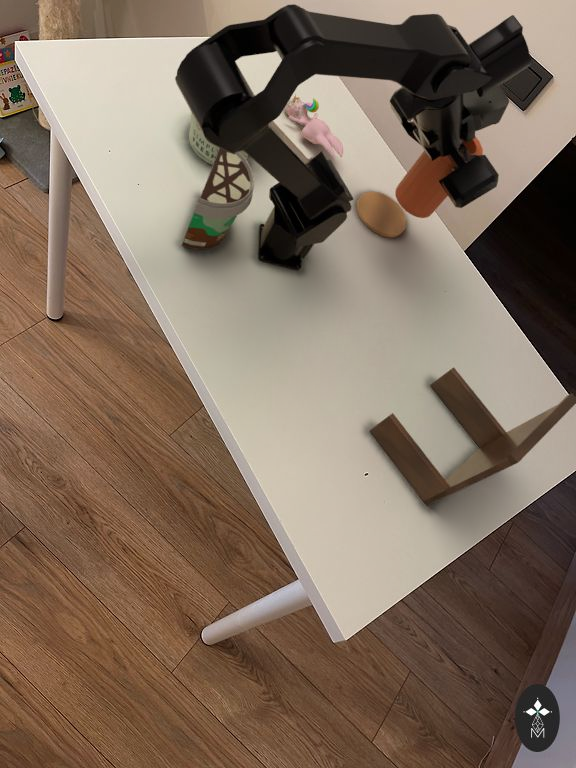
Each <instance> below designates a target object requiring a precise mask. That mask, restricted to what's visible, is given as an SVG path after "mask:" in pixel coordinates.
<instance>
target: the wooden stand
mask: <svg viewBox="0 0 576 768" xmlns="http://www.w3.org/2000/svg"><path fill="white" fill-rule="evenodd" d="M429 386H430V388H432V390H433V391H434V392H435V393H436V395H437V396H438V397H439V398H440V400H441V401H442V402H443V404H444V405H445V406H446V407H447V408H448V410H449V411H450V413H452V415H453V416H454V417H455V419H456V420H457V421H458V422H459V423H460V425H461V427H463V429H464V430H465V431H466V432H467V434H468V435H469V436H470V437H471V439H473V441H474V442H475V444H476V445H477V446H478V447H479V448H478V449H477V450H476V451H475V452H474V453H473V454H472V455H470V456H469V457H468V458H467V460H465V461H464V462H463V463H461V465H459V466H458V468H456V469H455V470H454V471H453V472H452V473H451V474H450V475H449V476H447V477H446V478H444V477H443V475H442V474H441V473H440V472H439V471H438V469H437V468H436V467H435V465H434V464H433V462H431V460H430V458H429V457H428V456H427V454H425V452H424V451H423V450H422V448H421V447H420V446H419V445H418V443H417V442H416V441H415V439H414V438H413V437H412V436H411V434H410V433H409V432H408V430H407V429H406V428H405V426H403V424H402V423H401V422H400V420H399V419H398V418H397V416H396V415H395V414H394V413H393V412H391V414H389V415H388V416H387V417H386V418H384V419H383V420H381V421H380V422H378V423H377V424H376V425H374V426H373V427H372V428H371V429H369V432H370V434H371V435H372V437H374V439H375V440H376V441H377V443H378V444H379V445H380V447H381V448H382V449H383V450H384V452H385V453H386V455H388V457H389V458H390V460H391V461H392V463H394V465H395V466H396V468H397V469H398V470H399V471H400V472H401V474H402V476H403V477H404V478H405V479H406V480H407V482H408V483H409V484H410V486H411V487H412V488H413V490H414V491H415V493H417V495H418V497H420V499H421V500H422V501H423V502H424V504H425V505H426V506H429V505H432V504H434V503H436V502H438V501H440V500H442V499H445V498H447V497H449V496H451V495H453V494H455V493H458V492H459V491H461V490H464V489H466V488H468V487H470V486H472V485H474V484H476V483H478V482H481V481H483V480H485V479H487V478H489V477H491V476H493V475H495V474H497V473H500V472H501V471H504V470H506V469H509V468H510V467H513V466H515V465H516V464H519V463H520V462H521V461H522V460H523V458H525V456H527V454H528V453H530V451H531V450H533V448H534V447H535V446H536V445H537V444H538V443H539V442H540V441H541V440H542V439H543V438H544V437H545V436H546V435H547V434H548V433H549V432H550V431H551V430H552V429H553V428H554V427H555V426H556V425H557V424H558V423H559V422H560V421H561V420H562V419H563V418H564V416H565V415H566V414H567V413H568V412H569V411H570V410H572V408H573V407H574V406H575V405H576V396H575V395H574V394H573V393H569V394H567V395H566V396H565V397H564V398H563V399H562V400H561V401H560V402H558V404H556V405H554V406H552V407H551V408H549V409H547V410H545V411H543V412H541V413H539V414H537V415H536V416H534V417H532V418H530V419H529V420H526V421H524V422H523V423H521V424H519V425H517V426H515V427H514V428H512V429H510V430H508V431H506V429H504V428H503V426H502V425H501V423H500V422H499V421H498V420H497V419H496V417H495V416H494V415H493V414H492V413H491V411H490V410H489V409H488V407H487V406H486V405H485V404H484V402H482V400H481V399H480V397H479V396H478V395H477V394H476V393H475V391H474V390H473V389H472V388H471V386H470V385H469V384H468V383H467V381H466V380H465V379H464V378H463V377H462V375H461V374H460V373H459V372H458V370H457V369H456V368H455V367H452V368H451V369H449V370H448V371H446V372H445V373H444V374H442V375H441V376H439V377H438V378H437V379H436V380H435V381H433V382H432V383H431V384H430V385H429Z"/></svg>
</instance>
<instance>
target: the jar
mask: <svg viewBox="0 0 576 768" xmlns="http://www.w3.org/2000/svg"><path fill="white" fill-rule="evenodd" d="M462 143H463V144H464V146H465V147H466V149H467V150H468V151H469V153H470V154H471V155H477V156H478V155H484V149H483V147H482V144H481V142H480V140H479V139H478V137H477V136H476V135H475V138H474V139H473V140H471V141H470V142H468V143H466V142H465V141H463V142H462ZM457 151H458V150H457ZM459 154H460V152H459ZM460 155H462V154H460ZM462 158H463V157H462ZM463 160H464V159H463ZM466 162H467V161H466ZM454 167H455V166H454V165H453V163H452V162H451V160H450V158H449V157H448V156H444V157H438V158H437V159H435V160H433V161H431V160H430V158H429V156H428V155H427V153H426V152H425V150H424V149H423V152H422V153H421V154H420V155H419V157H418V158H417V160H416V161H414V163H413V165H412V166H411V167H410V169H409V170H408V171H407V173H406V174H405V176H403V178H402V179H401V180H400V182H399V183H398V184H397V186H396V188H395V193H394V194H395V198H396V201H397V203H398V205H399V206H400V207H401V209H402V210H404V211H405V212H407V213H408V214H410V215H411V216H413V217H415V218H420V219H426V218H429V217H431V215H433V213H434V212H435V211H436V210H437V209H438V208H439V207H440V205H441V204H442V203H443V202H444V201H445V200H446V198H447V197H449V196H448V195H447V193H446V192H445V190H444V189H443V187H442V186H441V184H440V183H439V180H441V179H442V178H444V177H446V176H447V175H448V174H450V173H451V172H453V171H452V168H454Z"/></svg>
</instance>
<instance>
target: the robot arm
mask: <svg viewBox="0 0 576 768" xmlns="http://www.w3.org/2000/svg"><path fill="white" fill-rule="evenodd" d="M523 29H524V27H523V25H522V24H521V23H520V22H519V20H518V19H517V18H516V16H515V15H514V14H511V15H510V16H509V17H507V18H506V19H504V20H502V21H501V22H500V23H498V24H497V25H496V26H493V28H491V29H490V30H488V31H486V32H485V33H484V34H482V35H481V36H479V37H478V38H476V39H474V40H473V41H472V42H470V43H468V42H467V41H466V39H465V38H464V37H463V35H462V34H461V32H460V31H459V30H458V28H457V27H456V26H453V25H450V24H448V23H447V21H446V20H445V19H444V17H443V16H442V15H440V14H438V13H427V14H426V13H424V14H413V15H409V16H408V17H407V18H406V19H405V20H404V21H403V22H402V23H399V24H391V23H385V22H384V23H383V22H377V21H372V20H365V19H359V18H354V17H353V18H352V17H346V16H339V15H333V14H327V13H320V12H314V11H308V10H306V9H305V8H304V7H301V6H299V5H297V4H294V3H293V4H287V5H285V6H283V7H280V8H279V9H278V10H276V11H274V12H273V13H272V14H270V15H268V16H267V17H265V18H264V19H258V20H252V21H246V22H245V21H244V22H240V23H233V24H229V25H226V26H225V27H223V28H222V29H220V30H219V31H217V32H216V33H214V34H213V35H211V36H210V37H208V38H207V39H205V40H204V41H202V42H201V43H199V44H198V45H197V46H195V47H194V48H192V49H191V50H189V52H188V53H186V55H185V57H184V58H183V59H182V60H181V62H180V64H179V66H178V68H177V70H176V75H175V77H174V80H175V82H176V83H175V84H176V85H177V87H178V90H179V92H180V93H181V95H182V97H183V99H184V101H185V102H186V105H187V106H188V108H189V110H190V113H191V112H192V114H193V116H194V118H195V120H196V121H197V123H198V125H199V127H200V129H201V131H202V133H203V135H204V137H205V138H206V139H207V141H208V142H210V143H211V144H213V145H215V146H217V147H219V148H221V149H223V150H225V151H227V152H229V153H236V152H239V151H244V152H246V153H247V154H248V155H249V157H250V158H251V159H252V160H253V161H254V162H255V163H256V164H258V165H259V166H260V167H261V168H262V169H263V170H264V171H265V172H267V173H268V174H269V175H270V176H271V177H272V178H274V180H276V181H277V183H276V184H274V185H273V186H271V187H270V188H269V192H268V193H269V194H268V198H269V200H270V201H271V203H272V204H273V208H272V210H271V212H270V213H269V215H268V217H267V219H266V221H265V223H260V224H259V225H258V235H257V236H258V238H257V259H258V260H259V261H261V262H264V263H267V264H272V265H276V266H279V267H283V268H287V269H290V270H295V271H301V269H302V260H305V259H306V257H307V256H308V254H309V253H310V251H311V249H312V248H313V247H314V245H315V244H321V243H323V242H325V241H326V240H327V239H328V238H329V237H330V236H331V235H332V234H334V233H335V231H337V229H339V227H341V226H342V225H343V224H344V223H345V222H346V220H347V219H348V213H350V212H351V211H352V203H351V201H354V199H355V198H354V197H353V195H352V193H351V191H350V190H349V188H348V186H347V185H346V183H345V182H344V179H343V178H342V176H341V175H340V173H339V171H338V169H337V168H336V166H335V164H334V163H333V161H332V160H331V159H328V158H327V157H326V155H325V154H324V152H323V150H320V151H319V152H318V153H317V154H316V155H315V156H311V157H309V158H308V157H307V156H306V155H305V154H304V153H303V152H302V151H301V150H300V149H299V147H298V146H296V144H295V143H294V142H293V141H292V140H291V139H290V138H289V137H288V135H287V134H286V133H285V132H284V131H283V130H282V129H281V128H280V127H279V126H278V125H277V123H275V120H276V119H278V118H279V117H280V116H281V114H282V112H283V111H284V109H286V104H287V103H288V101H290V100H291V98H292V96H293V95H294V93H295V92H296V90H297V88H298V87H299V86H300V85H301V84H303V83H305V82H306V81H307V80H309V79H311V78H313V77H314V76H316V75H317V76H329V77H330V76H331V77H339V78H340V77H341V78H342V77H343V78H353V79H366V80H377V81H378V80H379V81H389V82H393V83H396V84H398V85H400V86H401V87H399V88H398V89H397V90H395V91H394V92H393V93H392V95H391V97H390V99H389V104H390V109H391V110H392V112H393V113H394V115H395V116H396V118H397V119H398V121H399V123H400V125H401V126H402V127H403V129H404V131H405V132H406V134H407V135H408V136H409V137H410V138H411V139H413V140H414V141H415V142H416V143H418V145H420V146H421V147H422V149H423V151H424V150H425V152H426V153H427V155H428V156H429V158H430V160H431V161H433V160H435V159H437V158H438V157H444V156H448V157H449V158H450V160H451V162H452V163H453V165H454V166H455V167H454V168H452V171H453V172H451V173H450V174H448V175H447V176H446V177H444V178H442V179H441V180H439V183H440V184H441V186H442V187H443V189H444V190H445V192H446V193H447V195H448V196H447V197H448V198H449V200H450V201H451V202H452V204H453V206H454V207H455V208H458V209H462V208H464V207H465V206H467V205H469V204H471V203H472V202H474V201H476V200H477V199H479V198H481V197H482V196H484V195H485V194H487V193H489V192H491V191H492V190H493V189H496V188H497V186H498V183H499V175H500V173H498V171H497V170H496V168H495V166H493V164H492V163H491V161H490V160H489V158H488V156H487V155H486V154H483V155H478V156H477V155H471V154H470V153H469V151H468V150H467V149H466V147H465V146H464V144H463V143H462V142H463V141H465V142H466V143H468V142H470V141H471V140H473V139H474V138H475V136H476V132H478V131H481V130H483V129H485V128H488V127H490V126H492V125H497V124H499V123H500V122H501V120H502V118H503V116H504V114H505V112H506V109H507V108H508V106H509V104H510V99H509V97H508V96H507V94H506V93H505V91H504V90H503V88H502V87H501V85H503V84H504V83H505V82H507V81H509V80H510V79H512V78H513V77H515V76H516V75H518V74H519V73H521V72H523V71H524V70H525V69H527V68H529V67H530V66H531V65H532V60H533V58H532V55H531V54H530V49H529V46H528V43H527V40H526V38H525V36H524V34H523ZM275 52H276V53H277V54H278V56H279V58H280V59H281V61H280V63H279V65H278V66H277V67H276V69H275V71H274V72H273V74H272V76H271V78H270V79H269V80H268V81H267V84H266V86H264V88H263V90H262V91H260V92H258V93H257V94H254V92H253V90H252V88H251V86H250V85H249V83H248V80H246V78H245V75H244V73H242V70H241V69H240V67H239V65H238V63H237V62H236V61H238V60H239V59H241V58H243V57H250V56H258V55H264V54H265V55H266V54H271V53H272V54H273V53H275ZM457 150H458V151H457ZM459 152H460V154H462V155H460V154H459ZM462 157H463V158H462ZM463 159H464V160H463ZM466 161H467V162H466Z"/></svg>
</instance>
